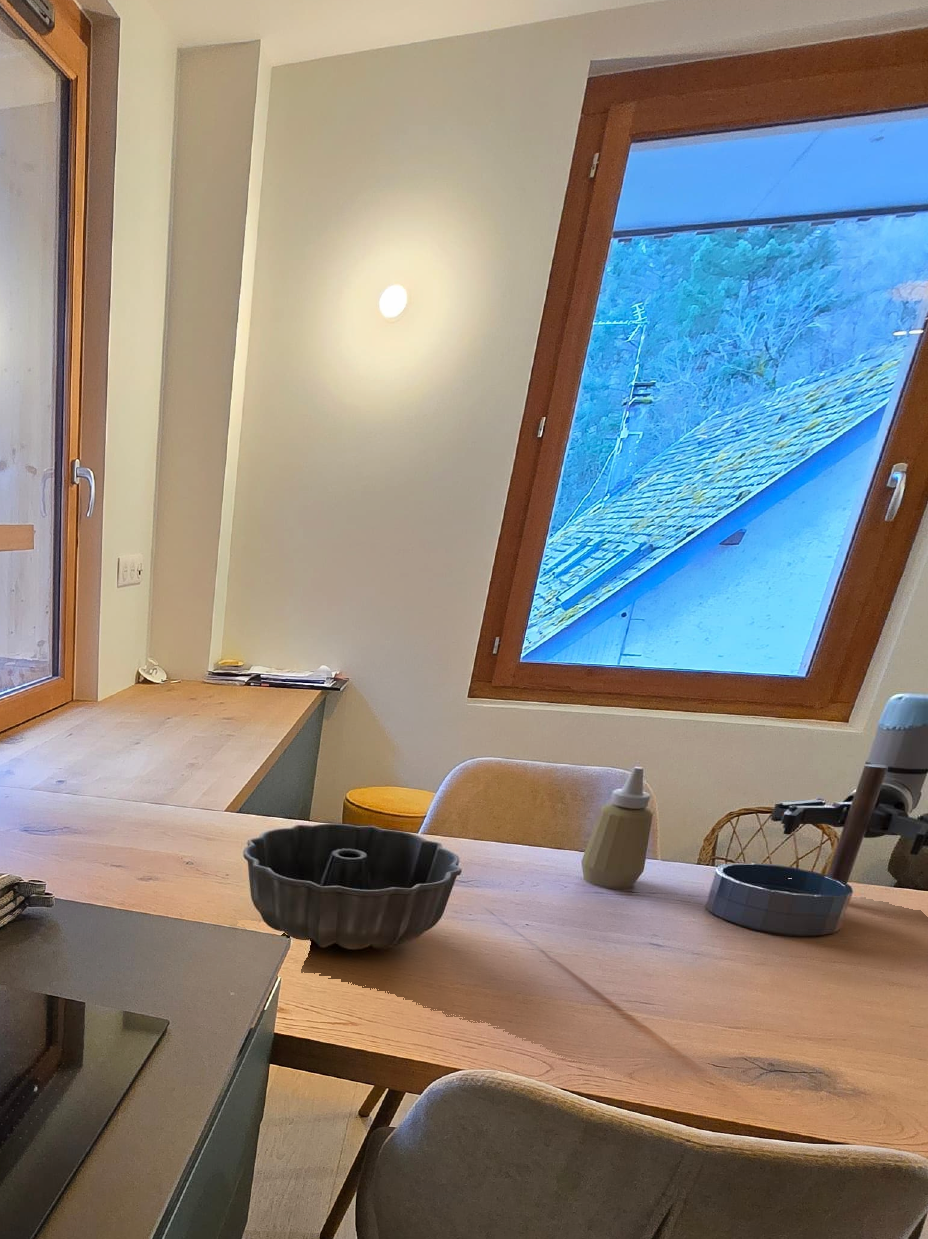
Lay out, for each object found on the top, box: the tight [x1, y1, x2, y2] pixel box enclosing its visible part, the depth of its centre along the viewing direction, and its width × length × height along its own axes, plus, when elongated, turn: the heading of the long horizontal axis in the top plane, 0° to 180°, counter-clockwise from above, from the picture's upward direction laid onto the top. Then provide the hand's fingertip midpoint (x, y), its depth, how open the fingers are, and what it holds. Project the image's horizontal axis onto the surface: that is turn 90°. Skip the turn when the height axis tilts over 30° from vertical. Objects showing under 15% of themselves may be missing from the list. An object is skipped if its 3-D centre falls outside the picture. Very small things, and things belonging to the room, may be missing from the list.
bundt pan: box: [242, 823, 463, 951], centre depth 124 cm, size 26×26×10 cm
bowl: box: [704, 862, 854, 938], centre depth 128 cm, size 15×15×6 cm
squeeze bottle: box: [581, 766, 654, 890], centre depth 137 cm, size 8×8×18 cm
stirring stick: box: [826, 764, 888, 884], centre depth 130 cm, size 5×5×20 cm
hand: (851, 834), depth 129 cm, fingers open, 13 cm apart
